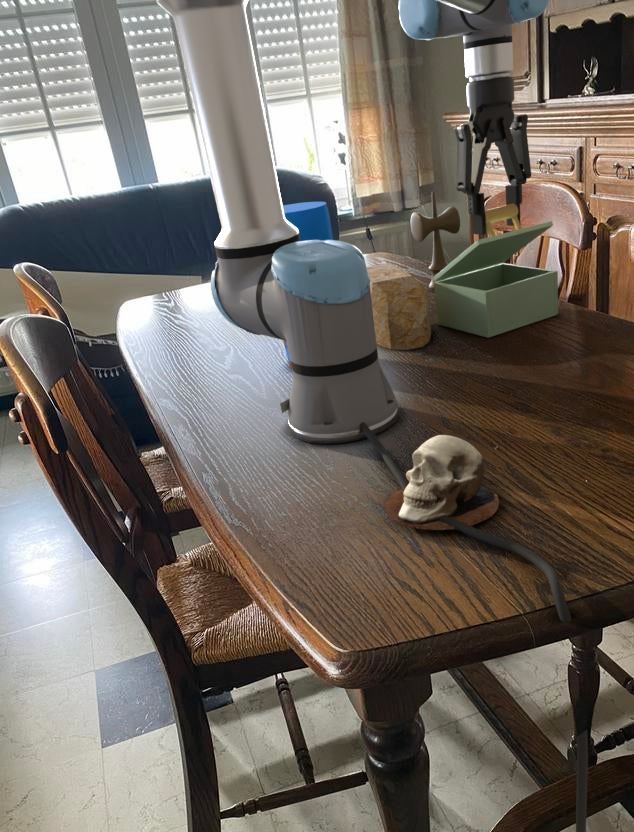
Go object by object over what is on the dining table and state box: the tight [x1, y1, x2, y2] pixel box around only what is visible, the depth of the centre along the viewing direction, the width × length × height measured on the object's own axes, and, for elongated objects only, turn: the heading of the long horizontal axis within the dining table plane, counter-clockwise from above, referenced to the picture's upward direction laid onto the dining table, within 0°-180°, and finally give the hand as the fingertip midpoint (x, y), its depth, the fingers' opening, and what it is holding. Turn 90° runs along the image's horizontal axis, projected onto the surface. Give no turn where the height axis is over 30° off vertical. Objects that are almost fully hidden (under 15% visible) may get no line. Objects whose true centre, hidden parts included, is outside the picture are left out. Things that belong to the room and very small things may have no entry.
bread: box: [366, 262, 432, 351], centre depth 142 cm, size 36×11×10 cm, turn 16°
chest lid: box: [433, 204, 554, 282], centre depth 133 cm, size 15×17×6 cm
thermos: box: [282, 201, 334, 370], centre depth 123 cm, size 11×11×25 cm
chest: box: [434, 262, 559, 339], centre depth 136 cm, size 15×17×8 cm
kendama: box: [410, 190, 461, 291], centre depth 159 cm, size 6×10×20 cm, turn 113°
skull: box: [384, 434, 500, 531], centre depth 79 cm, size 12×10×10 cm
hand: (496, 229), depth 130 cm, fingers closed on chest lid, 7 cm apart
